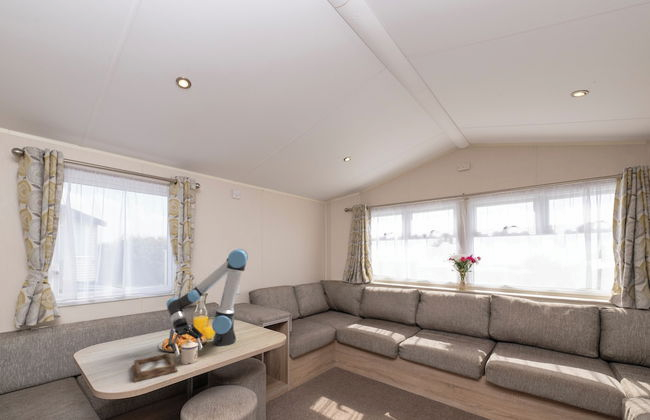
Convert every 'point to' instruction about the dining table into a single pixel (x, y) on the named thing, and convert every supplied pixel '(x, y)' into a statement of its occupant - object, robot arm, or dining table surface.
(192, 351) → the teacup with lid
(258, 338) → the dining table surface
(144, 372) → the wooden serving tray
